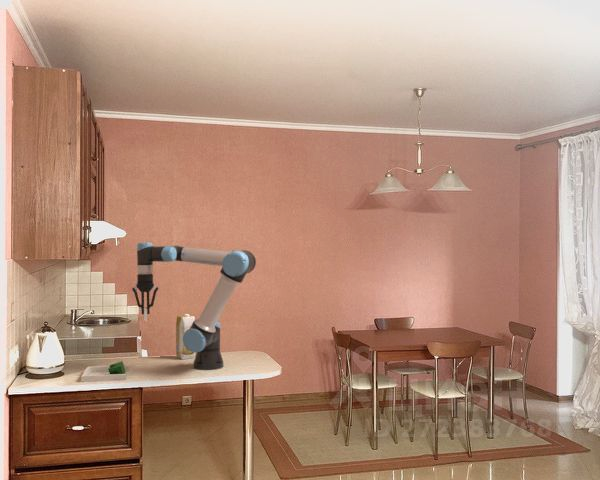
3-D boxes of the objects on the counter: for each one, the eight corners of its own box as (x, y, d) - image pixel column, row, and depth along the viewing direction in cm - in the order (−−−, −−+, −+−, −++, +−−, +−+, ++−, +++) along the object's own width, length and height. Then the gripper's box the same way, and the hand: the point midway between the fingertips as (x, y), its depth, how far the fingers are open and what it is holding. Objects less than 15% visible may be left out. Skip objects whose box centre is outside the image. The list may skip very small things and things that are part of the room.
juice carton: (181, 360, 330) (181, 315, 329) (174, 358, 336) (174, 313, 336) (196, 358, 336) (196, 313, 335) (189, 355, 342) (189, 312, 342)
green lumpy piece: (114, 383, 297) (110, 365, 300) (127, 380, 298) (123, 361, 301) (109, 379, 286) (105, 360, 289) (122, 375, 287) (118, 357, 290)
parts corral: (128, 370, 306) (128, 365, 306) (125, 379, 286) (125, 374, 286) (87, 371, 302) (87, 366, 302) (81, 381, 282) (81, 376, 282)
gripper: (158, 272, 313) (158, 319, 313) (131, 273, 309) (132, 320, 310) (158, 273, 306) (159, 321, 306) (131, 274, 302) (132, 322, 302)
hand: (145, 320), depth 308 cm, fingers closed
